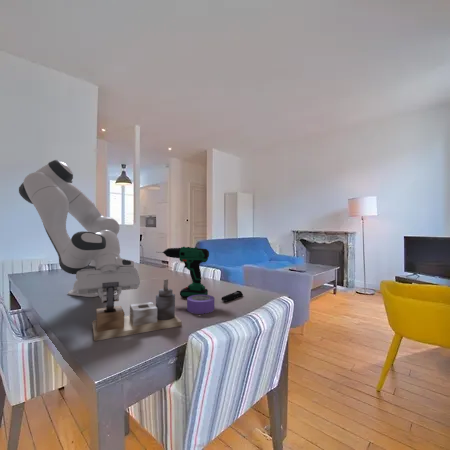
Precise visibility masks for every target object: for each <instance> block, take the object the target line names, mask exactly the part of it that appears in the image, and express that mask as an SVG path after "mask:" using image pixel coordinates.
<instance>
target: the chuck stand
mask: <svg viewBox="0 0 450 450" xmlns="http://www.w3.org/2000/svg"><path fill="white" fill-rule="evenodd" d="M95 311H96V312H95V313H96V314H95V320H92V325H93V326H92V332H93V333H92V334H93V341H94V342H96V341H102V340H107V339H109V340H110V339H114V338H119V337H125V336H131V335H137V334H141V333H147V332H152V331H159V330H164V329H165V330H166V329H170V328H176V327H182V323H183V322H182V320H181V319H180V318H179V317H178V316H177V315H176V314H175V313H176V294H174V293H173V289H172V288H169V279H168V278H164V279H163V288H160V289H158V294H156V295H155V303H153V301H149V302H141V303H131V304H129V315H125V311H124V309H123V307H122V305H118V306H117V305H116V306H115V305H114V312H109V313H106V307H101V308H100V307H99V308H96V309H95Z"/></svg>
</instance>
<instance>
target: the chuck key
mask: <svg viewBox="0 0 450 450" xmlns="http://www.w3.org/2000/svg"><path fill="white" fill-rule="evenodd" d="M114 287H119V282H108V283H102V288H107V294H106V295H105V296H107V302H106V303H105V305H106V307H105V308H106V313H109V312H114V307H115V302H114V295H115V293H114Z"/></svg>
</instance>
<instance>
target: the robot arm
mask: <svg viewBox="0 0 450 450" xmlns="http://www.w3.org/2000/svg"><path fill="white" fill-rule="evenodd" d="M73 179H74V172H73V171H72V170H71V167H69V165H68V164H66V163H65V162H63V161H62V160H58V159H54V160H51V161H49V162H48V163H47V164H45V165H44V166H42V167H41V168H39V169H37V170H36V171H33V172H31V173H29V174H28V175H26V176H25V177H24V179H23V182H21V184H20V185H19V187H18V193H19V195H20V196H21V197H22V199H23V200H24V201H26V202H28V203H29V204H31V205H33V206H34V207H35V210H36V212H37V213H38V215H39V217H40V220H41V222H42V225H43V227H44V230H45V232H46V235H47V237H48V238H49V240H50V242H51V244H52V246H53V248H54V249H55V252H56V253H57V256H58V265H59V267H60V268H61V270H62V271H64V273H68V274H71V275H75V278H76V280H75V281H74V283H73V287H72V289H70V290H69V291H68V292H67V295H69V296H78V297H84V298H85V297H86V298H97V297H99V298H100V299H101V304H103V303H105V304H106V302H107V296H106V294H107V288H102V283H108V282H119V287H114V303H115V302H119V301H120V295H121V294H122V291H127V290H137V289H138V288H139V287H140V285H141V284H140V283H141V279H140V275H139V272H138V269H137V268H136V267H135V261H133V260H131V259H125V258H121V255H120V253H121V248H120V241H119V237H118V234H119V232H120V224H119V222H118V221H117V220H116V219H114V218H113V217H110V216H104V215H103V214H102V213H101V212H100V210H99V208H97V206H96V205H95V203H94V202H93V201H92V200H91V199H89V197H88V196H86V194H85V193H84V192H82V190H80V189H79V188H78V187H77V186H76V185H75V184H73ZM68 214H69V215H71V216H72V217H73V218H74V219H75V220H76V221H77V222H78V223H79V224H80V225H81V226H82V227H83V228H84V230H82V231H78V232H75V233H74V234H73V235H72V236H71V237H70V235H69V233H68V231H67V219H68ZM85 230H86V231H85ZM115 293H116V294H115Z"/></svg>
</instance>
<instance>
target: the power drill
mask: <svg viewBox="0 0 450 450" xmlns="http://www.w3.org/2000/svg"><path fill="white" fill-rule="evenodd" d="M157 253H161V254H163V255H165V257H167V258H173V259H179V261H180V262H181V263H182V262H183V263H184V267H183V268H184V269H187V270H188V271H189V275H190V277H191V281H192V283H190V284H189V285H187V287H184V288H182V289H181V290H180V291H179V296H180V297H181V298H185V299H187V298H188V297H189V296H192V295H209V294H208V291H209V290H208V289H207V288H206V286H205V285H204V284H203V283H202V273H201V268H200V264H202V263H207V262H208V259H209V258H210V257H209V256H210V251H209V250H208V249H206V248H201V247H197V246H195V247H191V246H187V247H186V246H181V247H170V248H167V249H165V250H164V251H157Z"/></svg>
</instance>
